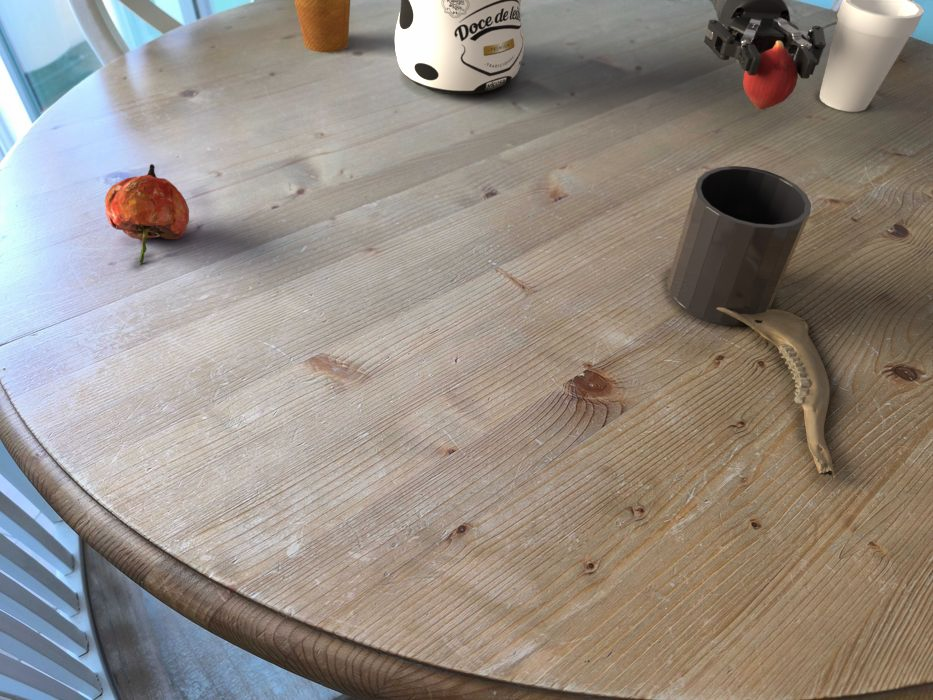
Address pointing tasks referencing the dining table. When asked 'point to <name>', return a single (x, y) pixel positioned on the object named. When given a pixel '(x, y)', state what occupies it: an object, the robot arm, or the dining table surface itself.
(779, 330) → the jawbone
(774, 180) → the tumbler
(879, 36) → the foam cup
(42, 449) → the dining table surface
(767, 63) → the onion
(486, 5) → the doce de leite jar
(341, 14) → the disposable coffee cup
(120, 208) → the orange pumpkin
